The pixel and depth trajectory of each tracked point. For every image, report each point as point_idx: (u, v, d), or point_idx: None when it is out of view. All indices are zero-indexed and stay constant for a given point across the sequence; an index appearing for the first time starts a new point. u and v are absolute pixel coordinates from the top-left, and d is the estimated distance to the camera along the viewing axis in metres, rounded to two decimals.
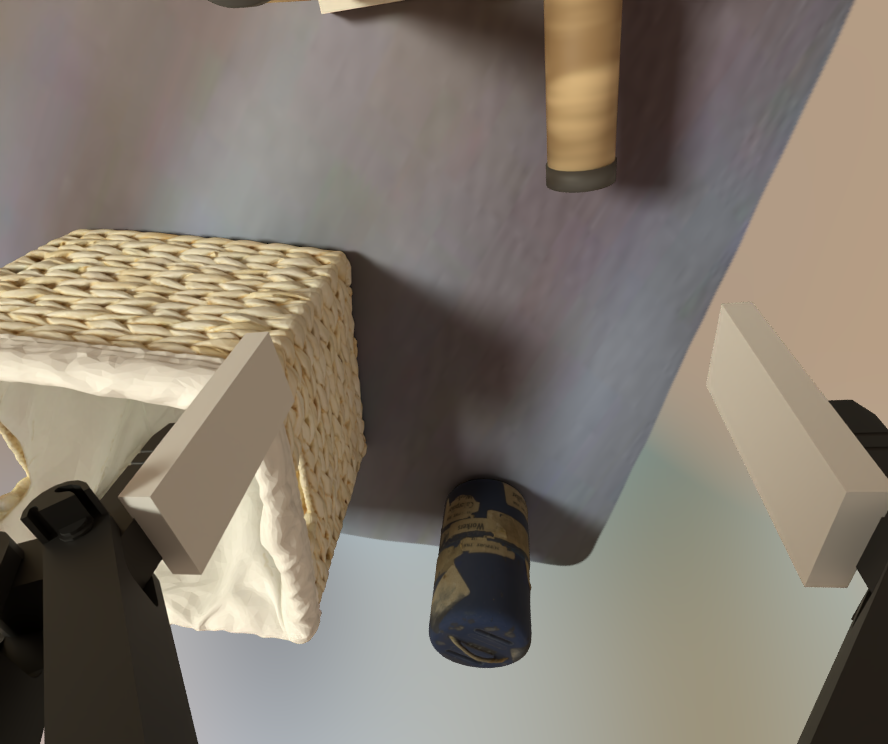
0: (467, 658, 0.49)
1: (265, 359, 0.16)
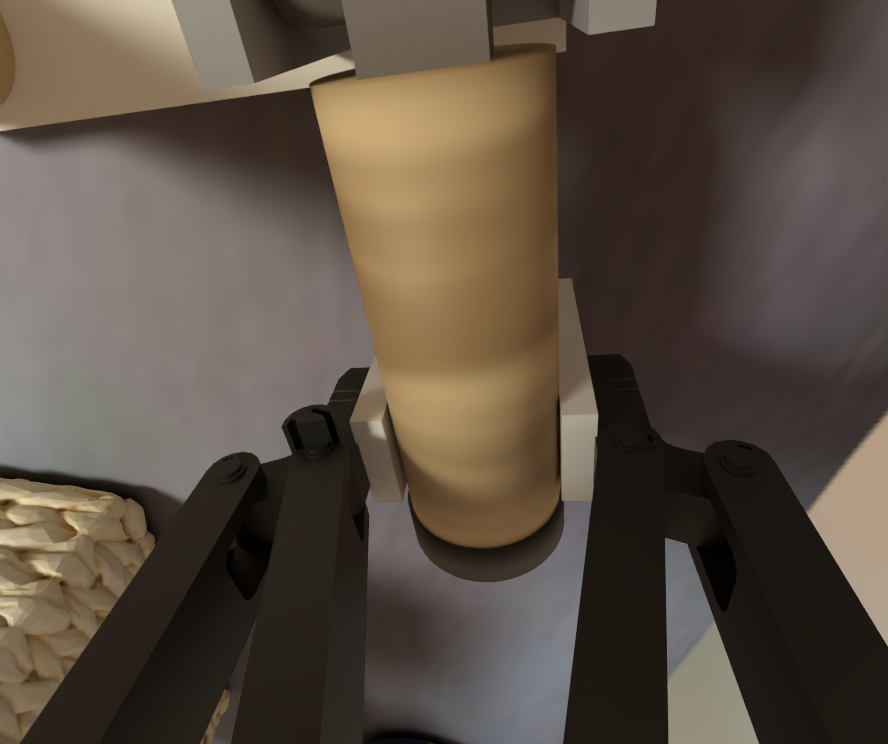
0: None
1: None
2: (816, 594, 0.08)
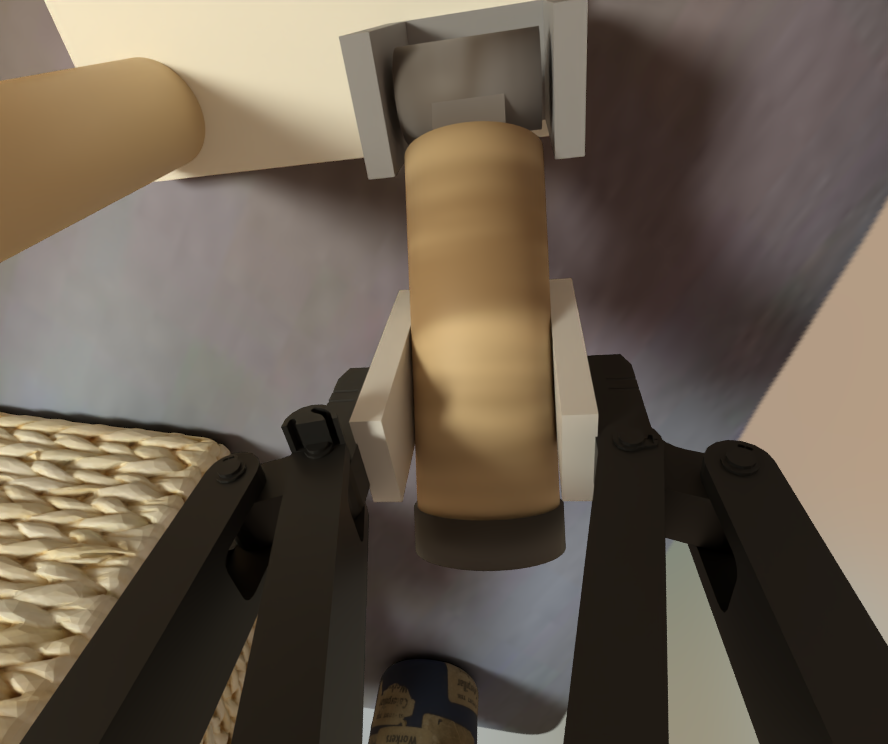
0: None
1: None
2: (817, 593, 0.08)
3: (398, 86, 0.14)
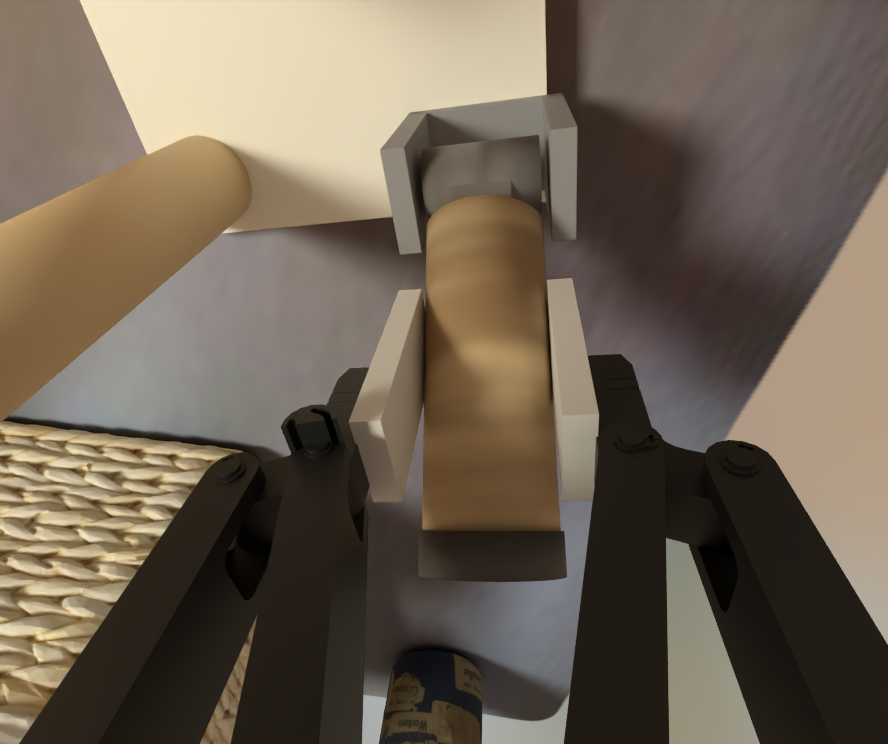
0: None
1: (420, 314, 0.17)
2: (817, 594, 0.08)
3: (425, 173, 0.18)
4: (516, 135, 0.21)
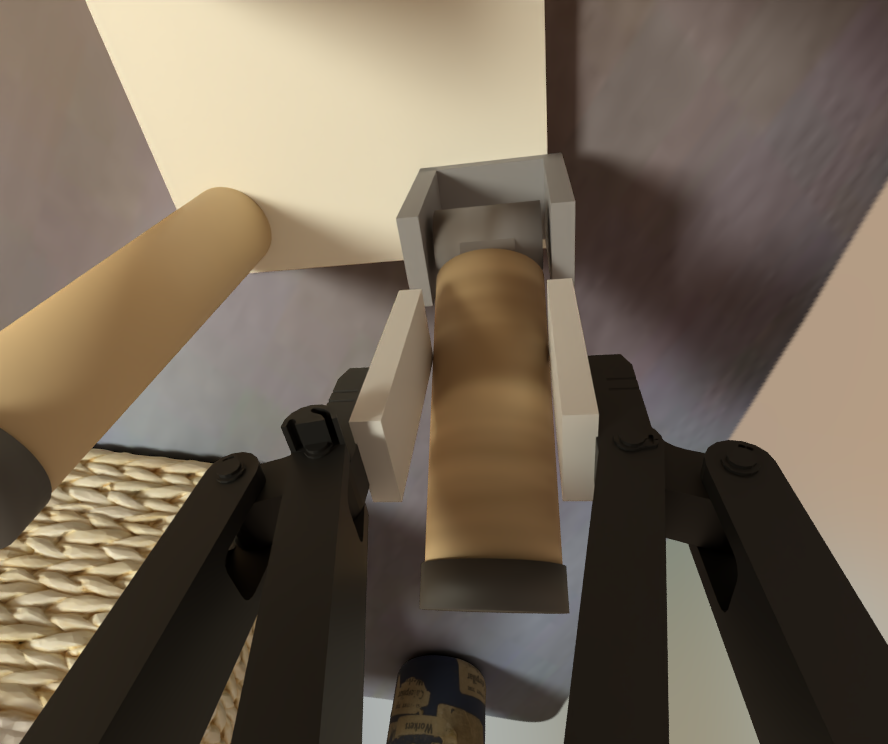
0: None
1: (420, 314, 0.17)
2: (817, 593, 0.08)
3: (436, 231, 0.20)
4: (519, 190, 0.23)
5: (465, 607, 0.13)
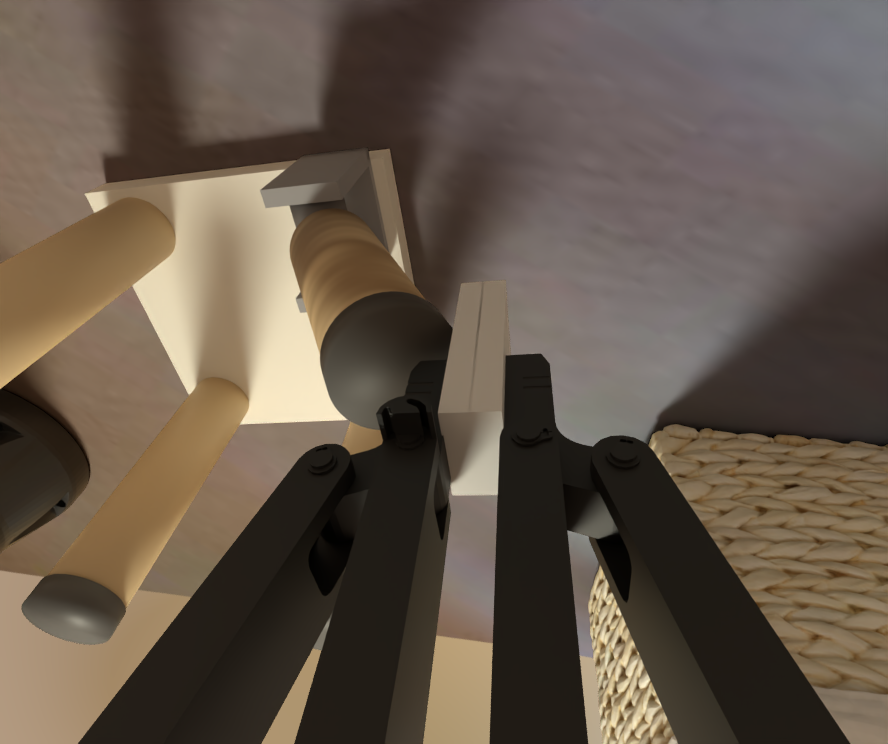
0: None
1: None
2: (699, 573, 0.08)
3: None
4: None
5: None
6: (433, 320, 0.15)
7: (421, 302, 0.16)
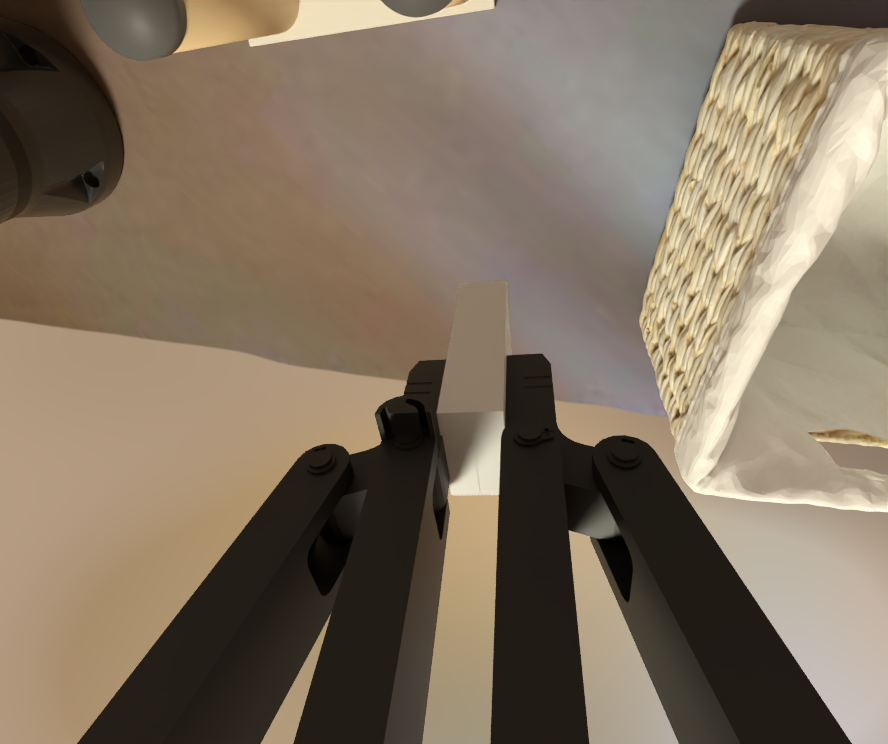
0: None
1: None
2: (700, 573, 0.08)
3: None
4: None
5: None
6: None
7: None
